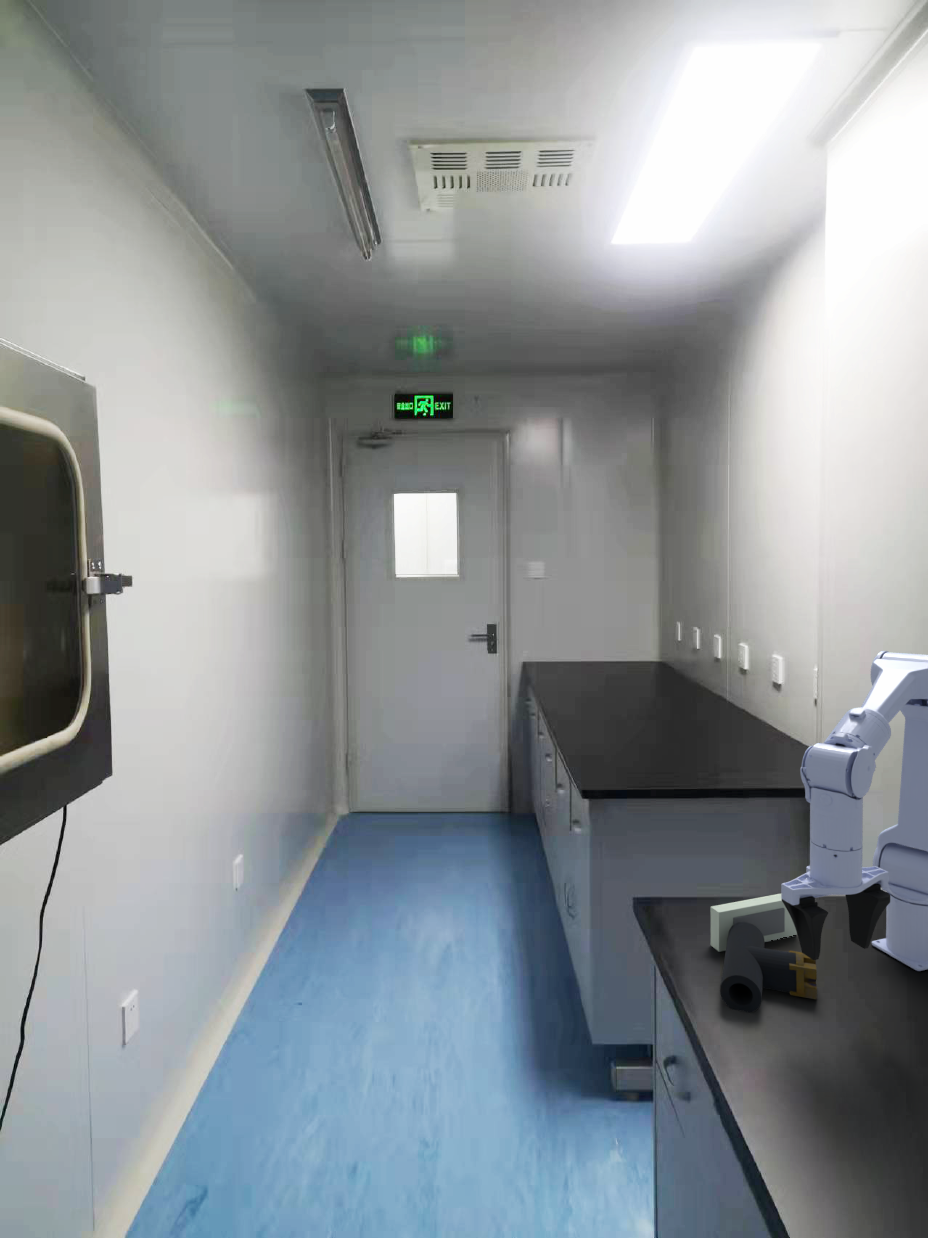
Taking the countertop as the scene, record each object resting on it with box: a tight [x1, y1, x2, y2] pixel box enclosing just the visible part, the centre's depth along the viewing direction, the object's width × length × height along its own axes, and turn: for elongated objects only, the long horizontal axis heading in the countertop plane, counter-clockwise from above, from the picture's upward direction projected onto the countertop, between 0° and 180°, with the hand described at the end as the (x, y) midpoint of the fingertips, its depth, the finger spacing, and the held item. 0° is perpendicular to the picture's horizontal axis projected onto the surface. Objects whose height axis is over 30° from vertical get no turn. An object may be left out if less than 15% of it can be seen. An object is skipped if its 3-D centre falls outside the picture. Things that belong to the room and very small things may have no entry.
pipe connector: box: [719, 922, 818, 1014], centre depth 99 cm, size 12×5×15 cm
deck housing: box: [710, 893, 798, 953], centre depth 110 cm, size 14×2×6 cm, turn 107°
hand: (835, 950), depth 90 cm, fingers open, 7 cm apart
